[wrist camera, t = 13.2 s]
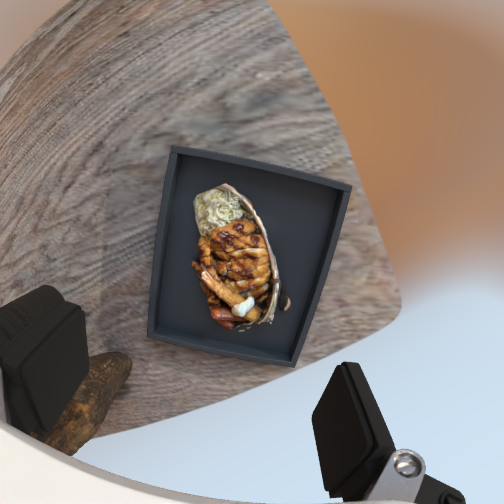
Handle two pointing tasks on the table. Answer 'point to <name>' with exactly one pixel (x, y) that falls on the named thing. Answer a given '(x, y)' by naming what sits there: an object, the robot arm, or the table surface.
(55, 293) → the drinking cup
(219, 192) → the taco
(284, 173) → the serving tray
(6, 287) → the table surface
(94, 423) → the sculpture
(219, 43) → the table surface
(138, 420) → the table surface
